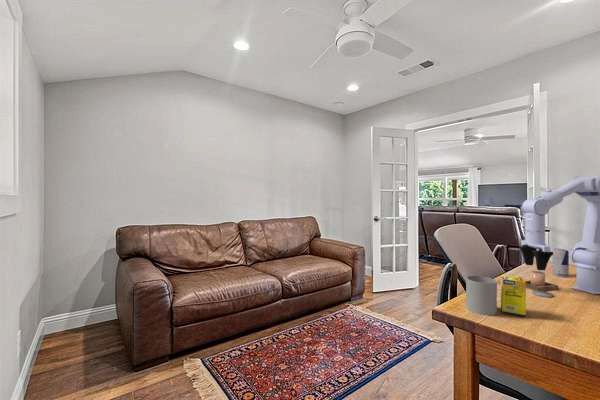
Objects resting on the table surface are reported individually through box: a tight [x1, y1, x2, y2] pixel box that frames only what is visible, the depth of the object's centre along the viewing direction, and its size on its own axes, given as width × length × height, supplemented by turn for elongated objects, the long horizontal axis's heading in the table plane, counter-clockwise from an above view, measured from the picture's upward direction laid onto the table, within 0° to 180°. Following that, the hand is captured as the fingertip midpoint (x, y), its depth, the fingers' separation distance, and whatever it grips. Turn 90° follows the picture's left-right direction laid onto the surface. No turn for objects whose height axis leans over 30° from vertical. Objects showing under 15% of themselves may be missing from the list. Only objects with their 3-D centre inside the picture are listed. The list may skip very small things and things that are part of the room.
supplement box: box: [500, 274, 527, 318], centre depth 90 cm, size 6×6×11 cm
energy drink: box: [552, 248, 570, 278], centre depth 130 cm, size 5×5×12 cm
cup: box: [465, 275, 498, 316], centre depth 92 cm, size 8×8×10 cm
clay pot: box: [529, 270, 546, 287], centre depth 114 cm, size 4×4×6 cm
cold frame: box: [525, 280, 559, 292], centre depth 114 cm, size 10×8×2 cm
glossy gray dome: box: [531, 290, 555, 298], centre depth 105 cm, size 6×6×1 cm
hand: (535, 267), depth 106 cm, fingers open, 7 cm apart
